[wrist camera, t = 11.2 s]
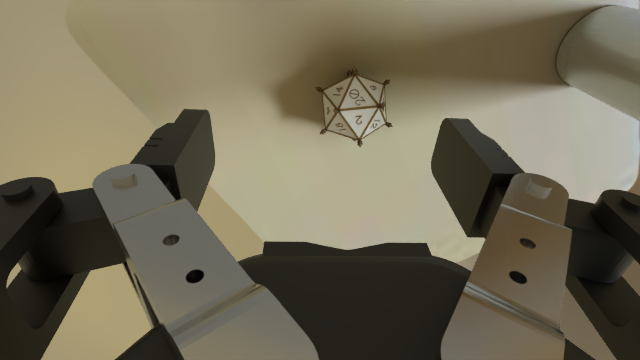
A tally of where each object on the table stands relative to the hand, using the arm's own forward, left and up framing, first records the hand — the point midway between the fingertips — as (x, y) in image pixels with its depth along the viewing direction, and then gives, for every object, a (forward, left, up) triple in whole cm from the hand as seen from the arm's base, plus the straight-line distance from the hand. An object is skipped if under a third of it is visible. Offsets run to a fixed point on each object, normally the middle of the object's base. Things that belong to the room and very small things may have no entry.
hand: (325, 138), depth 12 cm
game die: (-6, +10, -31) cm, 33 cm away
